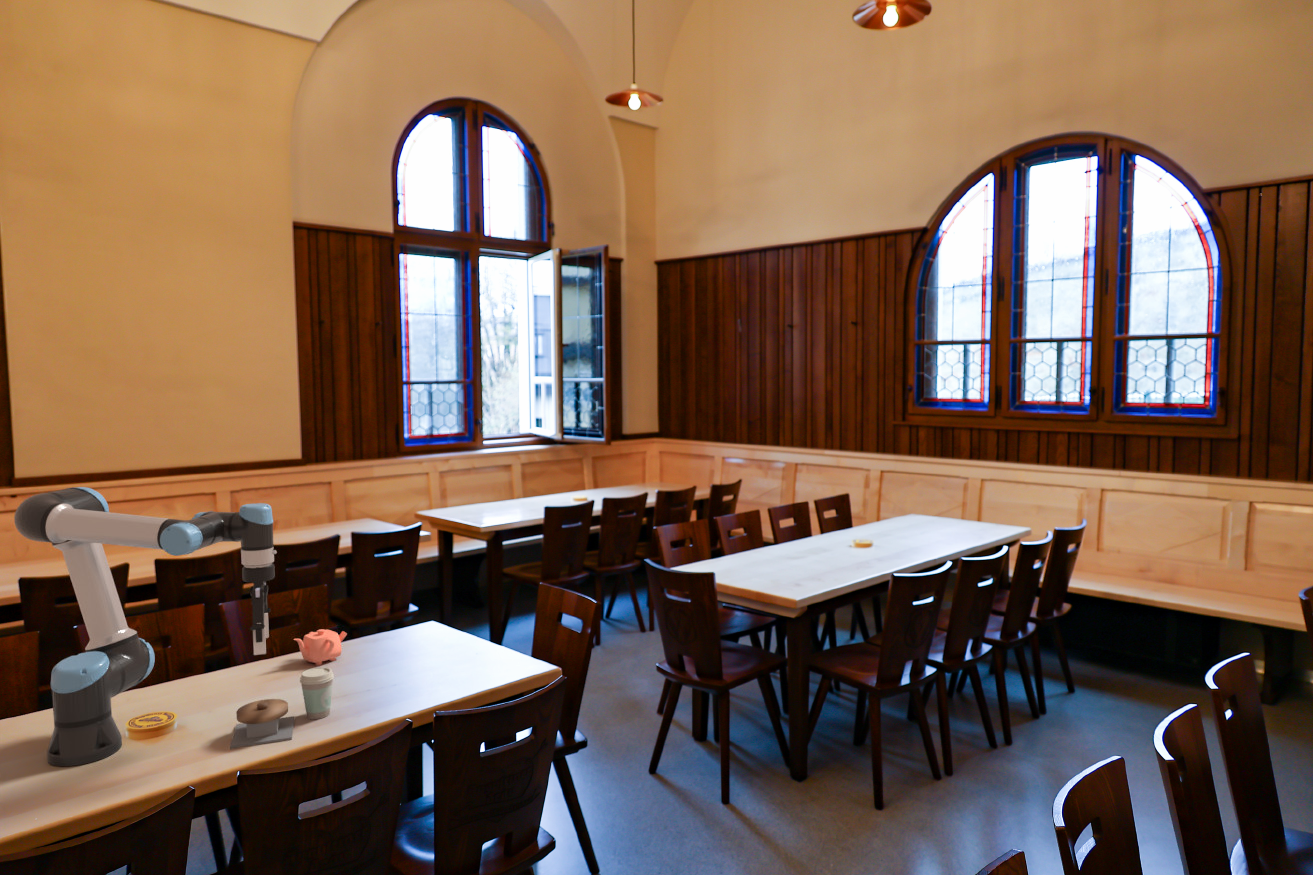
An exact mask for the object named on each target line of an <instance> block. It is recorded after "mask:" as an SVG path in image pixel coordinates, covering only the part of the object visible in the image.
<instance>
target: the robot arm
mask: <svg viewBox="0 0 1313 875" xmlns="http://www.w3.org/2000/svg"><path fill="white" fill-rule="evenodd" d="M109 508H110V507H109V504H108V502H107V500H106V499H105V497H104V496H103V495H102V494H101V493H100V492H99V491H96V490H95V489H93V488H91V487H86V486H78V487H67V488H63V489H60V490H59V489H58V490H54V491H48V492H43V493H38V494H34V495H32V496H29V497H27V498H26V499H24V500H23V501H22V502H21V503H20V504H19V505H18V506H17V508H16V510H15V513H14V516H13V518H14V519H13V520H14V526H15V528H16V530H17V532H19V534H20V535H21V536H22V537H24V538H25V539H28V540H31V541H34V542H39V543H40V542H41V543H50V544H51V546H52V547H53V548H54V549H57V550H60V551H61V552H62V556H63V559H64V562H65V566H66V568H67V571H68V572H67V573H68V575H69V577H70V581H71V583H72V587H73V590H74V593H75V597H76V600H77V603H78V606H79V610H80V612H81V615H82V618H83V623H84V624H85V625H84V626H85V628H86V631H87V634H88V637H89V641H88V643H87V645H86V646H85V648H84V649H85V652H81V653H78V654H77V655H70V656H68V657H66V658H64V659H62V660H60V661H59V662H58V663H57V664H55V665H54V666H53V668H52V670H51V675H50V676H51V677H50V688H51V699H52V711H53V713H52V714H53V724H54V725H53V726H54V728H53V730H52V735H51V738H50V741H49V745H48V747H47V751H46V757H47V758H46V759H47V763H48V764H50V765H51V766H55V767H73V766H81V765H84V764H85V765H86V764H89V763H93V762H96V761H99V760H102V759H105V758H107V757H109V756H111V755H114V754H115V753H116V752H118V751H119V750H120V749H121V748H122V746H123V741H122V740H123V738H122V734H121V731H120V730H119V727H118V726H117V724H116V722H115V720H114V717H113V716H112V715H113V713H112V698H114V697H116V696H118V695H120V694H122V693H123V692H124V691H127V690H128V689H130V688H134V687H135V686H137V685H138V684H140V683H141V682H142V681H143V680H144V679H146V678H147V677H148V676H149V675H150V674H151V673H152V670H153V668H154V665H155V659H156V658H155V656H156V655H155V652H154V648H153V647H152V645H151V644H150V643H149V642H146V640H145V639H143V638H141V637H139V635H138V631H137V630H135V629H133V628H131V627H129V626H128V622H127V619H126V617H125V613H124V610H123V607H122V603H121V600H120V597H119V594H118V591H117V587H116V584H115V581H114V577H113V574H112V570H111V568H110V565H109V561H108V559H107V556H106V552H105V549H104V545H113V546H123V547H124V546H125V547H131V548H143V549H150V550H151V549H152V550H162V551H164V552H166V553H167V554H169V555H170V556H175V557H177V556H185V555H186V556H187V555H190V554H192V553H194V552H195V551H199V550H201V549H204V548H206V547H210V546H212V545H216V544H217V543H218V544H219V543H224V542H225V543H226V542H235V543H236V542H237V543H238V542H240V554H241V555H240V556H241V557H240V558H241V565H243V566H242V568H241V574H242V575H241V577H242V581H243V582H246V583H252V584H253V585H252V586H250V592H249V593H250V600H251V601H250V602H251V605H252V608H251V609H252V611H251V612H252V625H251V626H249V631H252V641H253V642H252V643H253V656H258V655H266V654H267V645H266V644H267V643H266V640H267V639H268V638H269V637H270V634H269V631H270V630H269V613H271V607H269V604H268V594H269V593H268V592H269V585H268V584H267V582H268V581H271V580H274V579H275V578H276V572H275V571H276V569H275V568H276V566H275V564H274V562H275V555H276V554H277V553H278V552H277V550H276V549H274V546H275V545H274V519H273V518H274V517H273V509H272V506H271V505H270V504H268V503H264V502H258V503H246V504H242V505H241V506H239V511H237V512H236V511H210V510H209V511H201V512H198V513H195V514H194V516H193V517H192V518H191V519H187V520H186V519H174V518H167V517H158V516H149V515H139V514H138V515H137V514H130V513H129V514H128V513H119V512H110V509H109ZM103 544H104V545H103Z"/></svg>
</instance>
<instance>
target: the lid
mask: <svg viewBox="0 0 1313 875" xmlns="http://www.w3.org/2000/svg"><path fill="white" fill-rule="evenodd" d="M235 712H236V715H235V716H236V721H237V722H238V723H239V724H242V723H244V724H259V723H265V722H270V721H273V720H276V719H279V718H284V716H286V715H287V713H288V712H289V702H287V701H286V700H284V699H280V698H269V699H267V698H266V699H261V700H256V701H252V702H248V703H246V704H244V705H242V706H241V707H239V708H238V709H237V710H236V711H235Z"/></svg>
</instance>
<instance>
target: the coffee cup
mask: <svg viewBox="0 0 1313 875" xmlns="http://www.w3.org/2000/svg"><path fill="white" fill-rule="evenodd" d="M334 678H335V675H334V672H333V670H332V668H330V667H328V666H327V667H325V666H319V667H318V666H317V667H313V668H310V669H307V670H304V671H303V672H301V676H300V679H299V683H300V685H301V690H302V696H303V701H304V702H303V703H304V707H305V708H304V709H305V713H306V714H305V715H306V718H307V719H310V720H320V719H323V718H326V717H327V718H328V716H329V715H330V714H331V705H332V694H333V692H332V691H333V682H334V681H333V680H334Z"/></svg>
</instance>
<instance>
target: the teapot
mask: <svg viewBox="0 0 1313 875" xmlns="http://www.w3.org/2000/svg"><path fill="white" fill-rule="evenodd" d="M347 635H348V633H347V632H345V631H344V630H343V631H341V632H340V634H338V632H336V631H333V630H330V629H318V630H316V631H310V632H308V633H307V634H305V635H304V636H303V640H302V639H301V638H294V639H293V640H294V641H296V642H297V644H298V646H299V647H298V648H299V651H300V653H301V656H302V658H303V659H304V661H305V660H306V661H307V662H308V663H313V664H314V663H315V666H321V665H323V662H325V661H328V660H329V661H330V662H335V661H337V657H340V656H341V654H342V652H343V651H342V649H343V648H342V642H343V640H344V639H345V638H346V636H347Z"/></svg>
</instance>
